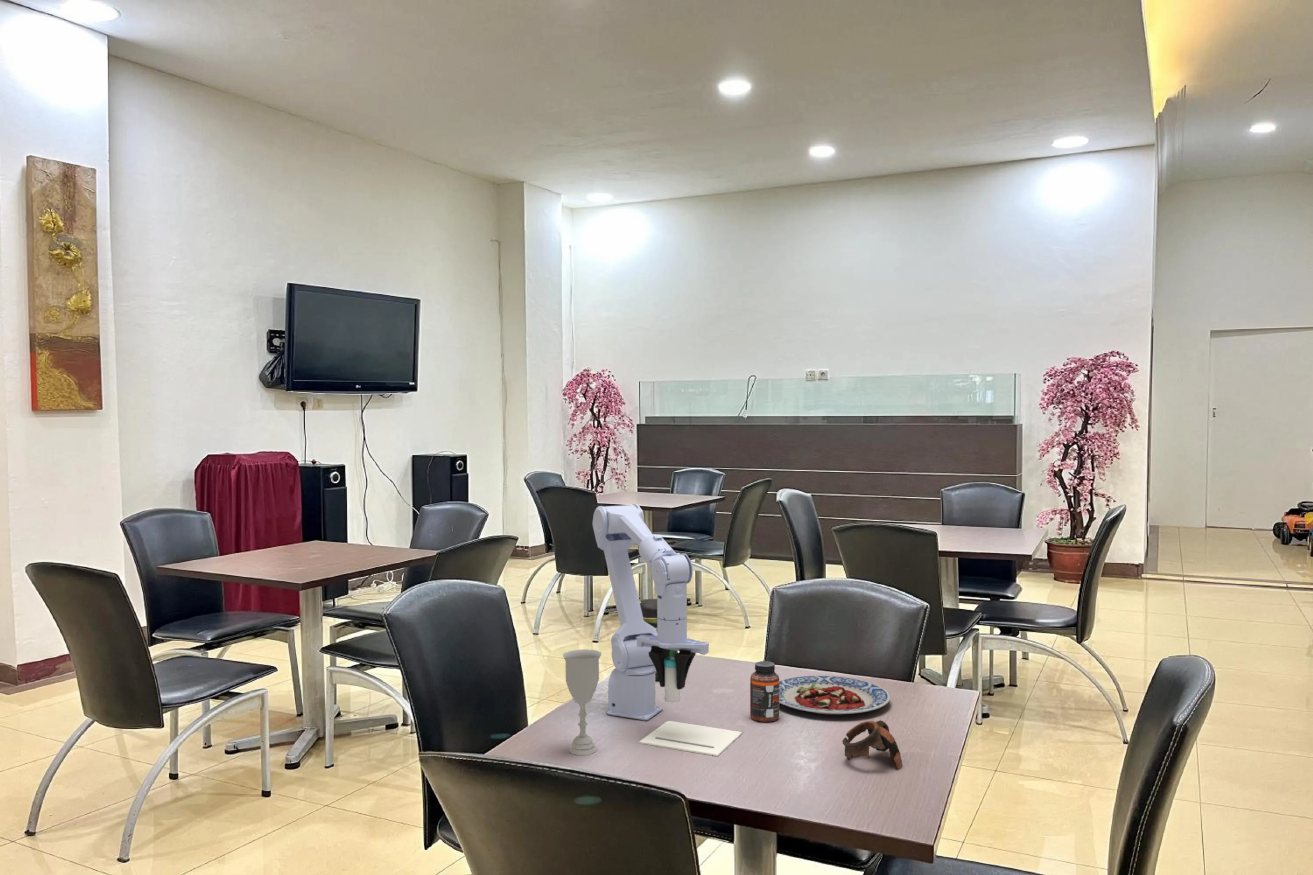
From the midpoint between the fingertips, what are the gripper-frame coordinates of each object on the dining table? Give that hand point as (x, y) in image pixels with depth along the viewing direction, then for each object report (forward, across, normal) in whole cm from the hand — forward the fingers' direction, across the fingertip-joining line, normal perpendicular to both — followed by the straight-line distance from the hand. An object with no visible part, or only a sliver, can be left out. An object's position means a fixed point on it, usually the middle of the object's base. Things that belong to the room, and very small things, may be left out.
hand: (672, 686), depth 181 cm
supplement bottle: (+10, +13, +17) cm, 24 cm away
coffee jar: (+10, -19, +34) cm, 40 cm away
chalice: (+10, -12, -14) cm, 21 cm away
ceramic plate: (+10, +22, +33) cm, 41 cm away
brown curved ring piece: (+10, +38, +4) cm, 40 cm away
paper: (+10, +4, 0) cm, 10 cm away
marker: (+3, 0, 0) cm, 3 cm away
